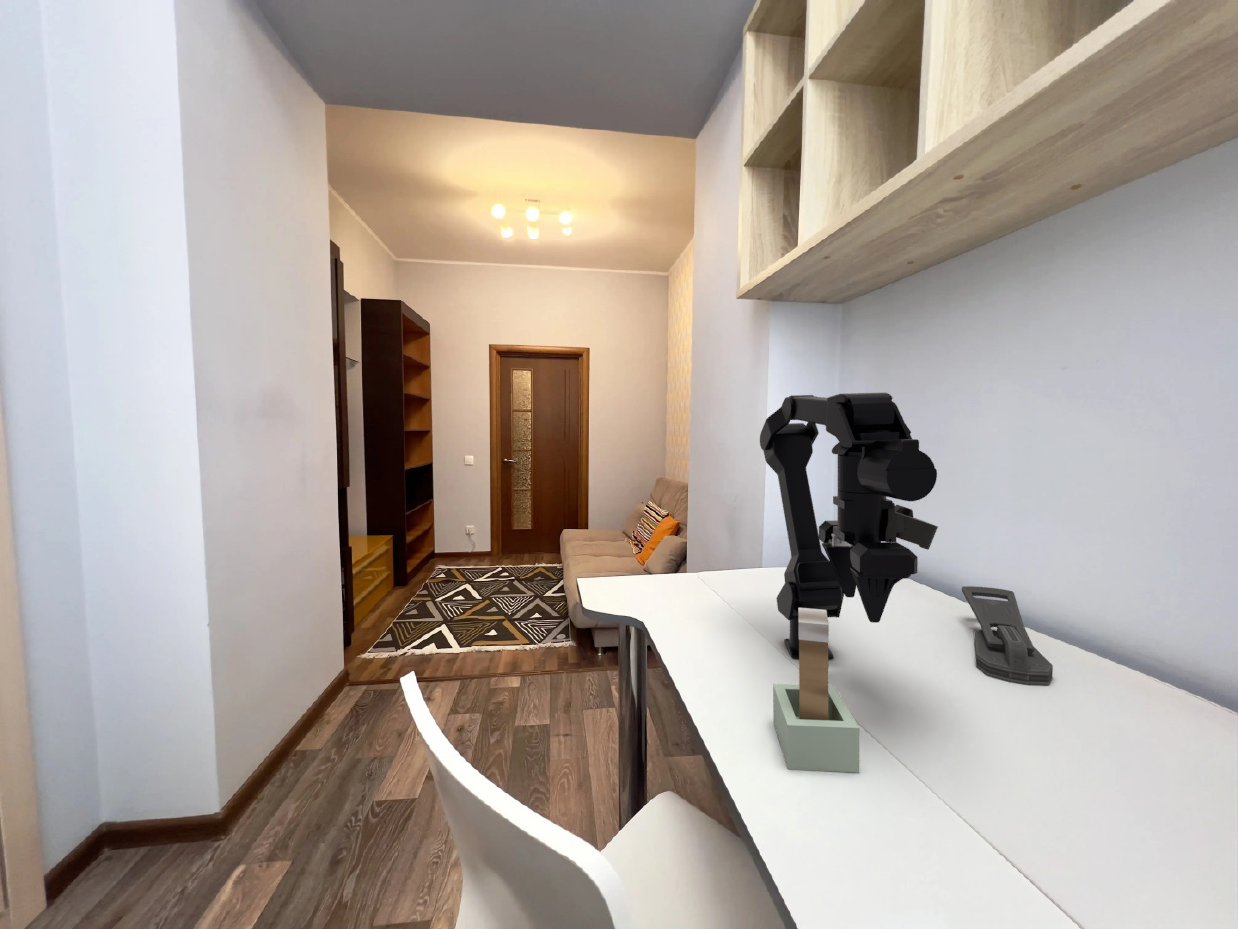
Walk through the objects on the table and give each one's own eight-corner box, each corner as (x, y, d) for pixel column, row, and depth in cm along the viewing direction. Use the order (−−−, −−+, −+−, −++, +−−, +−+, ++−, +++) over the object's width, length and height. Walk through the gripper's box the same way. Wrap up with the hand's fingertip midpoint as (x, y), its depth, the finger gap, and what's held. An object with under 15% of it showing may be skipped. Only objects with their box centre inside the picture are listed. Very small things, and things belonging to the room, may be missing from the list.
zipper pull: (1016, 589, 91) (1061, 644, 69) (1015, 625, 92) (1059, 691, 69) (957, 584, 95) (981, 633, 73) (956, 618, 96) (980, 678, 73)
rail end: (799, 719, 62) (798, 607, 61) (826, 724, 61) (826, 609, 60) (799, 742, 57) (798, 622, 56) (828, 747, 56) (828, 624, 55)
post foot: (773, 722, 64) (773, 683, 64) (834, 724, 63) (834, 685, 63) (787, 769, 55) (787, 725, 55) (859, 772, 54) (859, 728, 54)
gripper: (969, 500, 55) (966, 639, 56) (897, 481, 74) (896, 587, 75) (861, 501, 57) (861, 637, 58) (817, 483, 75) (817, 586, 76)
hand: (861, 608), depth 67 cm, fingers open, 9 cm apart
